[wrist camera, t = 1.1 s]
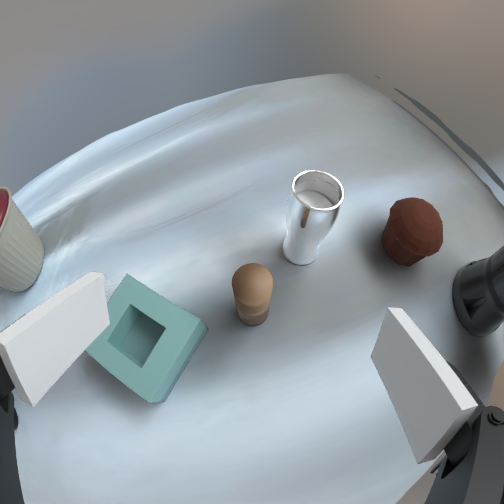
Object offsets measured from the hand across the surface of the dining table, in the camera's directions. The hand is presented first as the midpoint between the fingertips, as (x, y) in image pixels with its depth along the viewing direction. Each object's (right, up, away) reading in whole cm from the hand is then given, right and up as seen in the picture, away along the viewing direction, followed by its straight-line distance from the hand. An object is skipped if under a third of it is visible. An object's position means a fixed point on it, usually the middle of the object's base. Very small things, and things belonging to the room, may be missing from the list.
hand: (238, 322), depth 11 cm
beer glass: (+9, +3, +33) cm, 35 cm away
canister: (-48, 0, +32) cm, 58 cm away
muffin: (+28, +4, +34) cm, 44 cm away
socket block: (-15, -11, +26) cm, 32 cm away
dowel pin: (+1, -6, +28) cm, 29 cm away
